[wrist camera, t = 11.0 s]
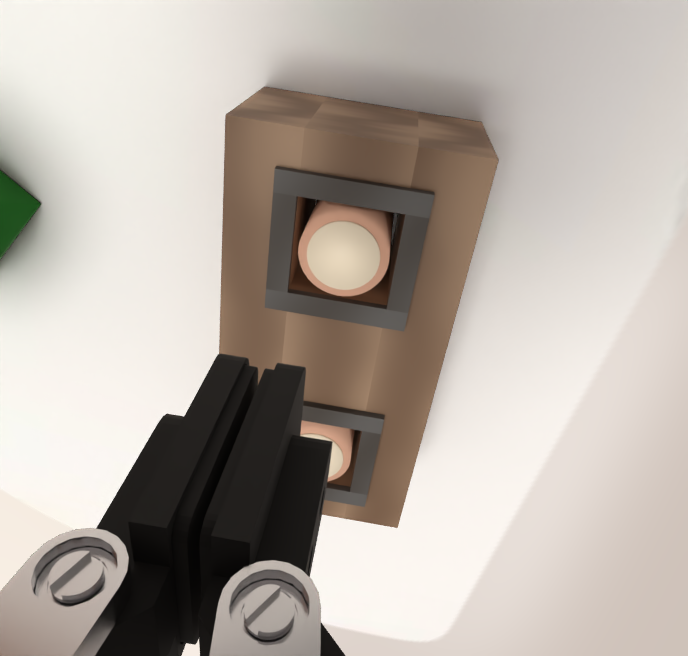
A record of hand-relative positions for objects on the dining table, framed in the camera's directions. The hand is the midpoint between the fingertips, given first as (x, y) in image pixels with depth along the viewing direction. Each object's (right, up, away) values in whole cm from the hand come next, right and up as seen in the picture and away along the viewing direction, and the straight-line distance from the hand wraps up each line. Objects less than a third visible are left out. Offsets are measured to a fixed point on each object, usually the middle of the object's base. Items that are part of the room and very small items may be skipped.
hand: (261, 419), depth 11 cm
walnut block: (+2, +4, +23) cm, 24 cm away
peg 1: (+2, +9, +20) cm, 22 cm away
